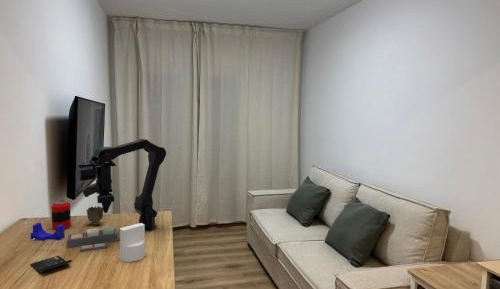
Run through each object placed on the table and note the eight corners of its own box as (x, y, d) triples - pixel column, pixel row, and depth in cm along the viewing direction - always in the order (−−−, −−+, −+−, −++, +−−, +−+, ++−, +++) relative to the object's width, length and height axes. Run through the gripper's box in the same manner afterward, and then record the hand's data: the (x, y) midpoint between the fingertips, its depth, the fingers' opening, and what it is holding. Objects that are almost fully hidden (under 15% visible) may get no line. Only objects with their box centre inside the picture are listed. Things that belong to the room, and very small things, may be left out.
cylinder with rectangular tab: (127, 264, 121) (126, 232, 120) (115, 256, 127) (115, 226, 126) (149, 256, 128) (149, 226, 126) (137, 249, 134) (137, 220, 132)
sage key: (113, 231, 146) (113, 226, 145) (114, 235, 142) (114, 230, 142) (102, 233, 144) (102, 227, 143) (102, 236, 140) (102, 231, 140)
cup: (99, 227, 156) (99, 210, 155) (84, 226, 156) (83, 210, 155) (106, 221, 163) (106, 206, 162) (91, 221, 163) (91, 205, 162)
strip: (106, 244, 137) (106, 242, 137) (107, 247, 134) (107, 245, 134) (79, 248, 132) (79, 246, 132) (79, 251, 130) (79, 249, 129)
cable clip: (30, 240, 139) (30, 226, 139) (38, 236, 144) (37, 222, 143) (57, 242, 139) (57, 228, 138) (64, 237, 143) (64, 224, 142)
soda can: (73, 224, 159) (72, 199, 157) (66, 230, 151) (66, 204, 150) (56, 224, 158) (55, 200, 156) (49, 230, 150) (48, 204, 149)
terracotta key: (82, 238, 140) (82, 233, 140) (82, 242, 137) (82, 237, 136) (71, 240, 138) (70, 235, 138) (70, 244, 135) (70, 238, 134)
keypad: (116, 234, 148) (116, 227, 148) (118, 240, 141) (118, 233, 141) (66, 241, 139) (66, 234, 139) (66, 248, 133) (65, 240, 132)
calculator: (58, 257, 125) (58, 249, 125) (71, 267, 118) (71, 259, 117) (30, 266, 118) (29, 258, 118) (42, 277, 111) (42, 269, 110)
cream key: (98, 233, 143) (98, 228, 143) (98, 237, 139) (98, 231, 139) (86, 235, 141) (86, 229, 141) (87, 239, 137) (87, 233, 137)
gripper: (82, 174, 144) (84, 208, 146) (82, 184, 128) (84, 223, 130) (110, 172, 149) (111, 205, 151) (113, 181, 133) (115, 219, 135)
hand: (105, 212), depth 141 cm, fingers closed
